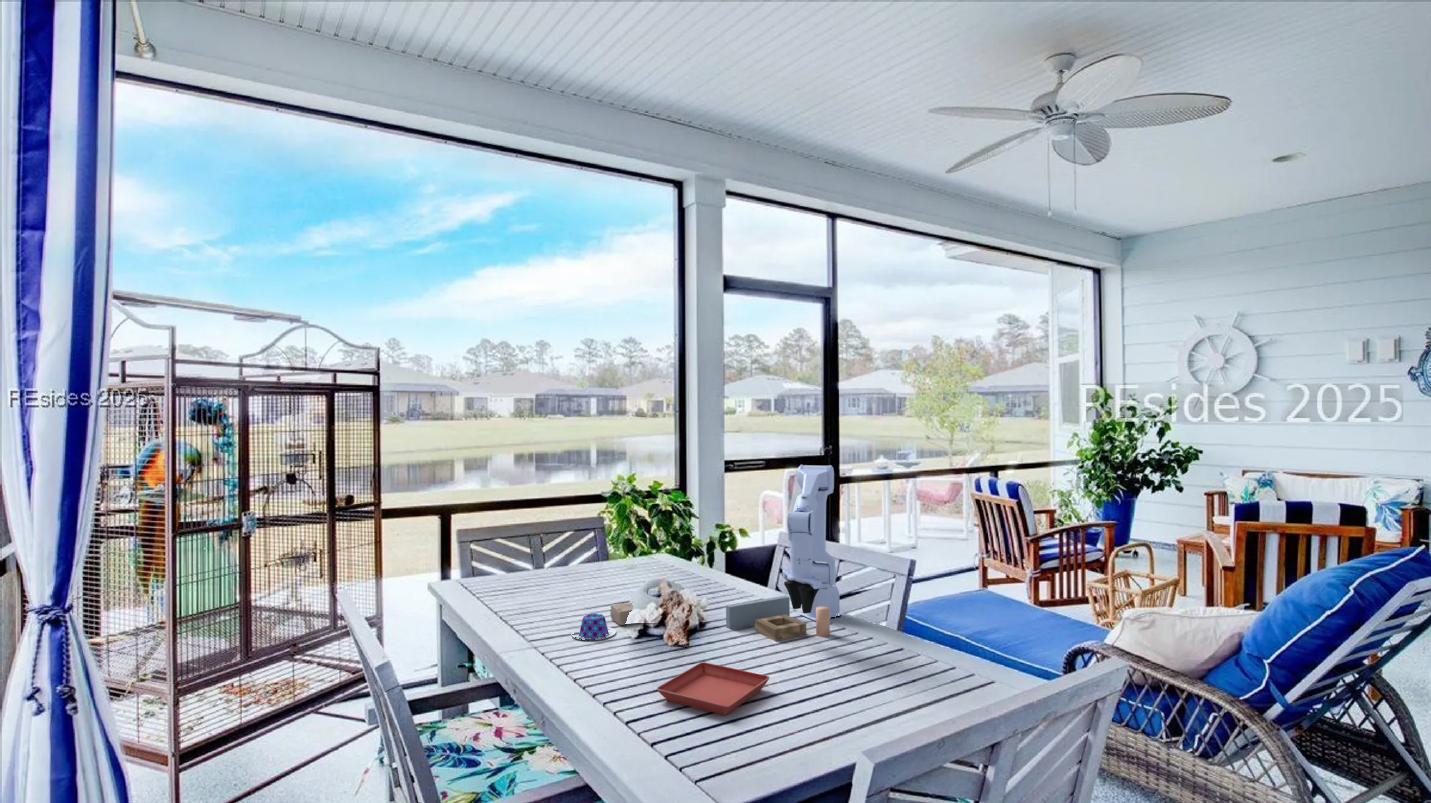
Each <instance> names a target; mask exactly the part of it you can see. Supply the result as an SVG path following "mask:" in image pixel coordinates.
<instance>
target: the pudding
mask: <svg viewBox="0 0 1431 803" xmlns="http://www.w3.org/2000/svg"><path fill="white" fill-rule="evenodd" d="M579 629H580V632H579V634H578V637H579V636H581V637H580V638H582V637H584V638H591V639H595V640H594V641H597V640H599V641H600V638H598V637H603V638H602V639H601V640H603V639H607V638H610V637H612V636H614V635H615V634H616V633H617V630H616V629H615V628H614V627H610V626H608V625H607V621H606V617H605V615H603V614H602V613H589V614H586V615H584V616H583V618H582V619H581V624H580V627H579V628H577V629H575V630H573V631H572V632H571V636H572V637H573V638H575V636H573V635H572V634H574V632H578V631H579ZM608 629H610V631H609V632H613V633H611V634H612V635H610V636H608V635H606V634H610V633H609V632H608ZM605 636H606V638H604V637H605ZM607 636H608V637H607ZM596 638H598V639H596ZM575 639H577V640H580V639H579V638H575ZM582 641H586V640H585V639H583V638H582Z"/></svg>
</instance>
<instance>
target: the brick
mask: <svg viewBox="0 0 1431 803" xmlns="http://www.w3.org/2000/svg"><path fill="white" fill-rule="evenodd" d="M632 603H633V602H629V603H615V604H614V603H612V604H611V605H610V611H609V613H610V619H611V620H612V621H613V622H615V623H616V624H618V626H626V625H625V623H626V621H627V617H628V615H629V612H631V611H632V609H633V605H632Z"/></svg>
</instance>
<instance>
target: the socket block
mask: <svg viewBox="0 0 1431 803" xmlns="http://www.w3.org/2000/svg"><path fill="white" fill-rule="evenodd" d="M754 631H755V632H756V633H759V634H761V635H762V636H765V637H766V638H768V639H770V640H773V641H774V642H778V641H782V640H783V641H784V640H787V639H793V638H798V637H802V636H807V623H806V622H803V621H801V620H799V619H797V618H794V617H792V616H788V615H779V616H774V617H768V618H763V619H757V620H755V624H754Z"/></svg>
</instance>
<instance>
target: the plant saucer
mask: <svg viewBox="0 0 1431 803" xmlns="http://www.w3.org/2000/svg"><path fill="white" fill-rule="evenodd" d="M770 678H771V677H770V676H769V675H766V674H765V675H764V674H761V673H757V672H752V671H747V670H742V669H737V668H733V667H729V666H723V665H718V664H714V663H710V662H706V661H705V662H704V661H703V662H699V663H697V664H696V665H694V666H692V667H691V668H689V669H687V670H684V671H683V672H681V673H680V674H678V675H676V676H674V677H673V678H671V679H669V680H668V681H666V682H664V683H663V684H660V685H659V686H657V688H656V690H657V691H658V693H659V694H660V695H661V696H662V697H663V698H664V699H665V700H667V701H668V702H672V703H675V702H676V703H675V704H678V705H679V704H680V705H683V706H687V707H692V708H694V707H695V708H694V709H699V710H704V711H707V712H711V713H714V714H719V715H723V716H727V715H728V714H729V713H731V712H733V711H735V709H737V708H738V707H740V706H741V705H742V704H743V703H745V702H747V701H748V700H749V699H751V698H752V697H754V696H756V694H759V692H760V691H761V690H762V689H763V688H764V687H765V686H766V684H767V683H768V681H769V679H770Z"/></svg>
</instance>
